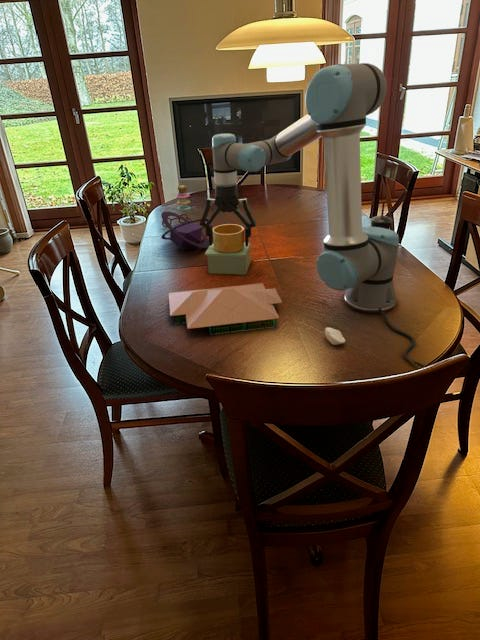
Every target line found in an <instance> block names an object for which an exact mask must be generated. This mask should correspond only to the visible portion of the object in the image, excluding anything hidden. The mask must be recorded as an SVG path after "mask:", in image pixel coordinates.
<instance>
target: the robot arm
mask: <svg viewBox="0 0 480 640" xmlns="http://www.w3.org/2000/svg"><path fill="white" fill-rule="evenodd" d="M387 83H388V82H387V78H386V76H385V74H384V72H383V71H382V69H381V68H379V67H378V66H376V65H375V64H372V63H367V62H361V63H339V64H333V65H328V66H324V67H322V68H321V69H319V70H318V71H316V72H315V73H314V74H313V76H312V78H311V80H310V81H309V82H308V84H307V87H306V90H305V95H304V105H305V110H306V113H307V114H305V115H304V116H302V117H301V118H299V119H298V120H297V121H295V122H293V123H292V124H291V125H289V126H287V127H286V128H285V129H283V130H282V131H280V132H278V134H276V135H274V136H273V137H271V138H268V139H265V140H259V141H255V142H249V143H239V142H237V139H236V136H235V134H233V133H218V134H214V135H213V136H212V138H211V143H212V145H211V150H212V163H213V164H212V165H213V178H214V192H215V195H214V196H215V198H212V197H208V198H207V199H206V203H205V204H206V206H205V209H204V211H203V214H202V217H201V218H200V219H201V221H199V226H200V227H205V228H204V229H205V235H206V237H208V240H209V246H212V244H213V234H212V229H213V225H211V223H212V222H213V221H214V219H216V218H217V215H218V214H219V213H220V212H222V213H232V212H233V213H234V215H236V216H237V217H238V219H239V220H240V221H241V222H242V224H243V225H244V226H245V227H244V242H245V247H248V244H249V243H250V242H249V241H250V240H249V238H251V236H252V228H255V227H256V225H257V221H256V218H255V217H254V215H253V213H252V211H251V208H250V206H249V204H248V198H247V197H244V198H240V199H239V194H238V193H239V192H238V184H237V183H238V171H237V170H240V171H244V172H249V173H250V172H253V173H257V172H259V171H260V170H261V169H262V168H264V167H267V166H269V165H275V164H280V163H281V164H282V163H283V162H286V161H289V160H290V159H291V158H292V156H293V155H294V154H295V153H297V152H298V151H300V150H302V149H303V148H305V147H307V146H309V145H311V144H312V143H314V142H316V141H317V140H319V139H321V138H323V151H324V152H323V153H324V169H325V185H326V186H325V187H326V200H327V201H326V204H327V205H326V206H327V222H328V234H327V235H326V236H325V238H323V252H321V253H320V254H319V256H318V257H317V259H316V263H315V264H316V265H315V266H316V272H317V274H318V276H319V278H320V280H321V281H322V282H323V283H324V284H325V285H326V286H327V287H328V288H329V289H331V290H333V291H338V292H342V291H345V293H344V303H345V305H346V306H347V307H349V308H351V309H352V310H354V311H357V312H361V313H365V314H381V315H382V317H383V318H384V321H385V322H386V324H387V326H388V327H389V328H390V329H391V330H393V331H394V332H396V333H398V334H401V335H403V336H404V337H407V338H408V339H410V340H411V344H410V345H409V346H408V347H407V348H406V349H405V350H404V352H403V357H404V359H405V361H407V362H408V363H411V364H413V365H416V364H417V366H419V367H421V368H422V367H425V366H426V365H425V364H423V363H421V362H419V361H417V360H413V359H412V358H409V356H408V352H410V350H412V349H413V348H414V346H415V345H416V341H415V339H414V337H413V336H412V335H411V334H409V333H407V332H404V331H402V330H400V329H397V328H396V327H394V326H393V325H392V324H391V323H390V322H391V321H389V319H388V317H387V315H386V313H387V312H390V311H391V310H393V309H395V307H396V303H397V294H396V291H395V286H394V275H395V268H396V263H397V256H398V250H399V247H400V244H399V242H400V237H399V233H397V232H396V231H394V230H392V229H390V230H389V229H385V228H380V227H371V226H363V212H362V211H363V210H362V206H363V205H362V173H361V172H362V170H361V168H362V167H361V166H362V165H361V133H362V131H363V130H364V129H365V127H366V126H367V116H369V115H371V114H373V113H374V112H376V111H377V110H378V109H379V108H380V107H381V106H382V104H383V103H384V101H385V99H386V96H387V91H388V84H387ZM214 204H215V206H216V207H217V208H216V209H215V211H214V212H213V213H212V215H211V216H210V218H207V217H208V216H209V213H210V210H211V207H212V206H213V205H214ZM239 204H240V206H242V207H243V210H244V212H245V214H246V216H245V214H244V213H243V212H242V211H241V209H240V208H239V207H238V205H239ZM206 219H209V220H208V222H207V221H205V220H206ZM408 358H409V359H410V360H411V361H412V362H414V363H415V364H414V363H412V362H411V361H410V360H409V359H408Z"/></svg>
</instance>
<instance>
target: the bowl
mask: <svg viewBox="0 0 480 640" xmlns="http://www.w3.org/2000/svg"><path fill="white" fill-rule="evenodd" d="M212 235H213V247H214V249H215V250H217V251H220V252H224V253H231V252H236V251H239V250H241V249H243V248H244V246H245V227H243V226H242V225H240V224H235V223H226V224H225V223H224V224H219V225H217V226H214V227H212Z"/></svg>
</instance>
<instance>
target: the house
mask: <svg viewBox="0 0 480 640" xmlns="http://www.w3.org/2000/svg"><path fill="white" fill-rule="evenodd" d="M168 298H169V299H168V303H169V316H170V317H172V319H173V320H179V319H181V320H182V321H183V319H185V322H184V321H183V324H186V328H187V330H191V329H201V328H208V329H209V334H210V335H212V330H213V331H215V330H216V333H215V335H218V334H219V335H221V334H227V333H229V331H227V332H226V331H221V330H220V329H218V327H220V326H222V329H228V325H230V326H232V325H233V326H232V328H233V329H235V328H236V330H233V331H232V333H236V332H243V331H244V332H245V331H247V323H248V326H254V327H253V328H251V329H250V328H249V331H252V330H256V328H255V327H256V323H255V322H258V325H261V321H262V322H263V321H265V324H267V323H268V326H266V329H270V328H271V329H272V326H269V324H271V321H272V324H273V326H274V328H276V327H277V319H280V316H279V314H278V313H277V310H276V308H275V305H279V304H283V301H282V299H281V297H280V295H279V293H278V292H277V289H276V288H266V287H265V285H264V283H263V282H261V283H249V284H241V285H232V286H223V287H222V286H221V287H212V288H203V289H193V290H184V291H183V290H182V291H175V292H174V291H173V292H168ZM177 316H179V318H178V317H177ZM181 316H184V317H181ZM175 317H176V318H175ZM266 321H267V322H266ZM173 324H174V325H177V324H179V322H176V321H173ZM235 324H236V325H235ZM237 324H239V327H240V326H241V327H243V328H244V329H241V330H240V328H238V329H239V330H238V329H237V327H238V325H237ZM226 325H227V326H226ZM223 326H224V327H223ZM211 327H212V328H211ZM214 327H215V328H214ZM260 329H263V327H259V328H258V330H260ZM217 330H218V331H219V332H217ZM220 331H221V332H220Z"/></svg>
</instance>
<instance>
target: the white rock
mask: <svg viewBox="0 0 480 640" xmlns="http://www.w3.org/2000/svg"><path fill="white" fill-rule="evenodd" d="M324 335H325V338H326V339H327V341H328V342H329V343H330V344H331V345H333V346H339V345H342V344H345V343H346V339H345V338H344V336H343V334H342V332H341V331H340V330H339V329H336V328H333V327H329V326H327V327H325V328H324Z"/></svg>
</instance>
